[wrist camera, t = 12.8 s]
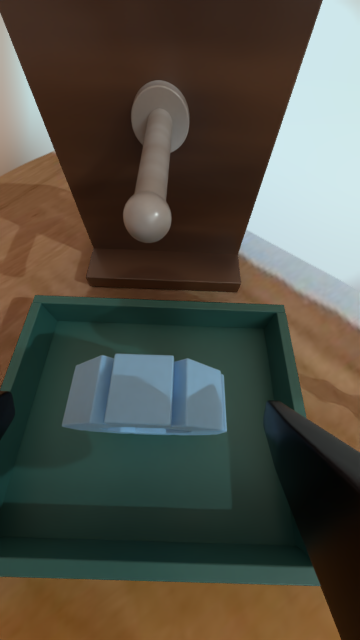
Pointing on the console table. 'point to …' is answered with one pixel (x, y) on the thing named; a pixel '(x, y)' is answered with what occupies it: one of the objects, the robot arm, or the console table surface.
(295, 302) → the console table surface
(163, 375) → the blue segmented ring
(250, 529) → the tray
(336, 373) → the console table surface
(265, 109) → the hook rack
